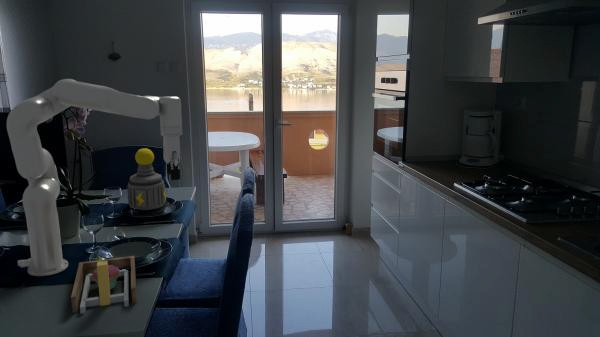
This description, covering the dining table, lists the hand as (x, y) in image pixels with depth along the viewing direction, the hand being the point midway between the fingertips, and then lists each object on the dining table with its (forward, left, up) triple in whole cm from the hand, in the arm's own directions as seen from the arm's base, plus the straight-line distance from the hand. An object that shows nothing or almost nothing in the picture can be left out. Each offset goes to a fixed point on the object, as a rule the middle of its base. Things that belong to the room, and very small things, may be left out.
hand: (173, 176), depth 168 cm
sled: (-24, -24, -31) cm, 46 cm away
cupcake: (-24, -20, -31) cm, 44 cm away
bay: (-24, -21, -31) cm, 45 cm away
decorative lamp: (-8, +69, -31) cm, 76 cm away
